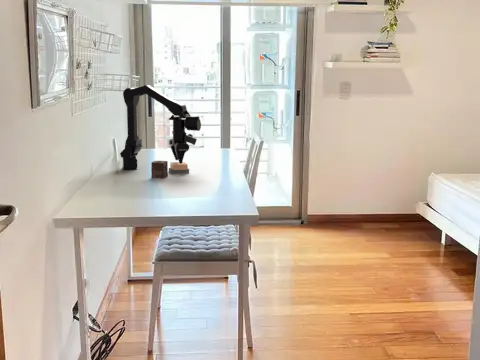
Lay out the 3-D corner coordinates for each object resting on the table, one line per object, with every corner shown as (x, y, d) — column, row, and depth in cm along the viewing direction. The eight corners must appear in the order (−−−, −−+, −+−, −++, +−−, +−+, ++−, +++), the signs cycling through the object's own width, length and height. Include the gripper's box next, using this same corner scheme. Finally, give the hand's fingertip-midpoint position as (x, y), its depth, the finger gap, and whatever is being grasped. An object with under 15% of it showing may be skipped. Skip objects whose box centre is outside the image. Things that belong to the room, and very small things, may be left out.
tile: (173, 170, 258) (173, 164, 257) (170, 167, 264) (170, 162, 264) (187, 169, 260) (187, 164, 259) (184, 167, 266) (184, 162, 266)
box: (163, 178, 247) (163, 163, 246) (151, 178, 248) (151, 162, 247) (168, 176, 253) (168, 160, 252) (155, 175, 254) (155, 160, 253)
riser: (170, 173, 259) (170, 169, 258) (168, 171, 263) (168, 167, 263) (189, 173, 262) (189, 169, 261) (186, 171, 266) (186, 167, 266)
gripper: (200, 131, 252) (199, 164, 255) (190, 127, 269) (190, 158, 273) (176, 132, 249) (176, 165, 252) (168, 127, 266) (168, 158, 269)
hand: (178, 161), depth 261 cm, fingers open, 9 cm apart
